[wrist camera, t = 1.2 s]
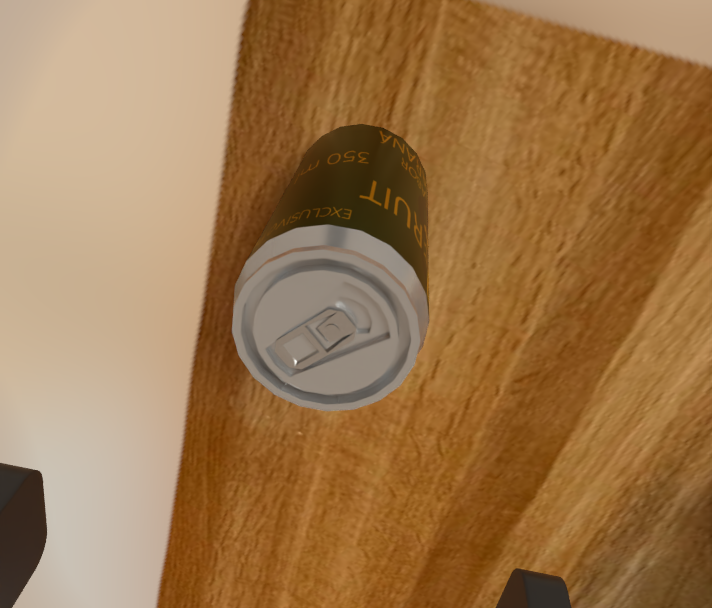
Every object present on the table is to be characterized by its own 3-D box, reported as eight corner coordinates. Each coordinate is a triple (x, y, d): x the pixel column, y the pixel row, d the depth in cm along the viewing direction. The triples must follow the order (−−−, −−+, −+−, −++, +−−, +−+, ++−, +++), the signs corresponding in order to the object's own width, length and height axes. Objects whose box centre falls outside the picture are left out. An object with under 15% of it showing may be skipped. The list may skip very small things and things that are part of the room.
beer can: (349, 264, 29) (307, 445, 19) (274, 167, 27) (180, 309, 17) (452, 200, 27) (469, 363, 17) (379, 92, 25) (347, 198, 15)
